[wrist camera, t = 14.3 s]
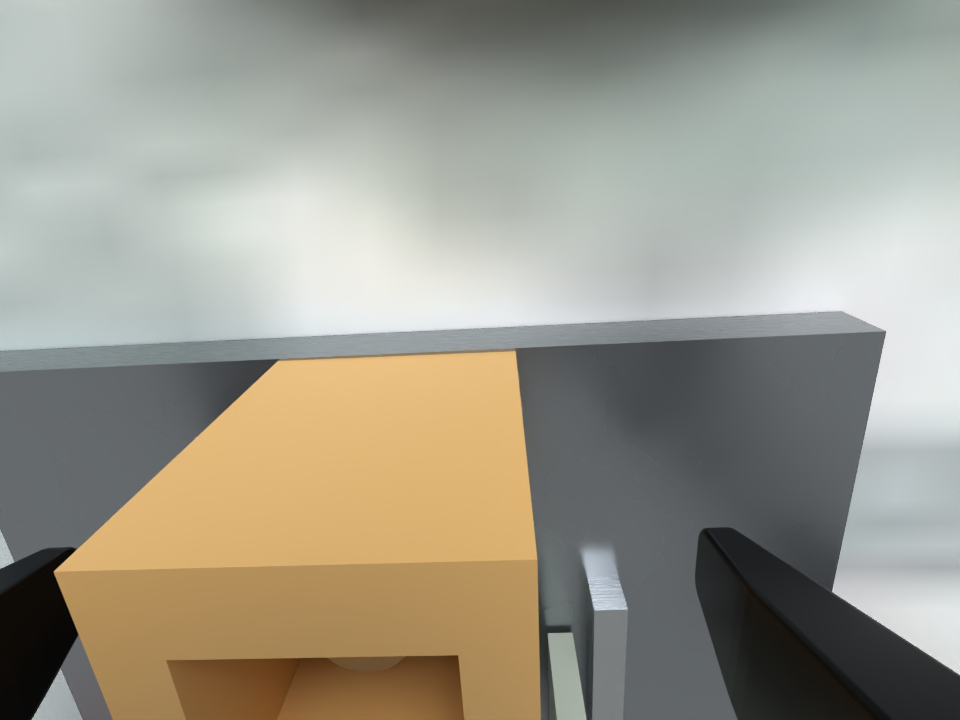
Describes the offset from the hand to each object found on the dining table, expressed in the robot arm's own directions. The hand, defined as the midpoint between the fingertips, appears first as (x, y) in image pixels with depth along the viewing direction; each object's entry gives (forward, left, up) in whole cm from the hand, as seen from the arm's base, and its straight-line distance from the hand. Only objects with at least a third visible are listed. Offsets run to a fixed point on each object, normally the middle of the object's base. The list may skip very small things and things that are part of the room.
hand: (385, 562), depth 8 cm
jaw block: (0, 0, -2) cm, 2 cm away
